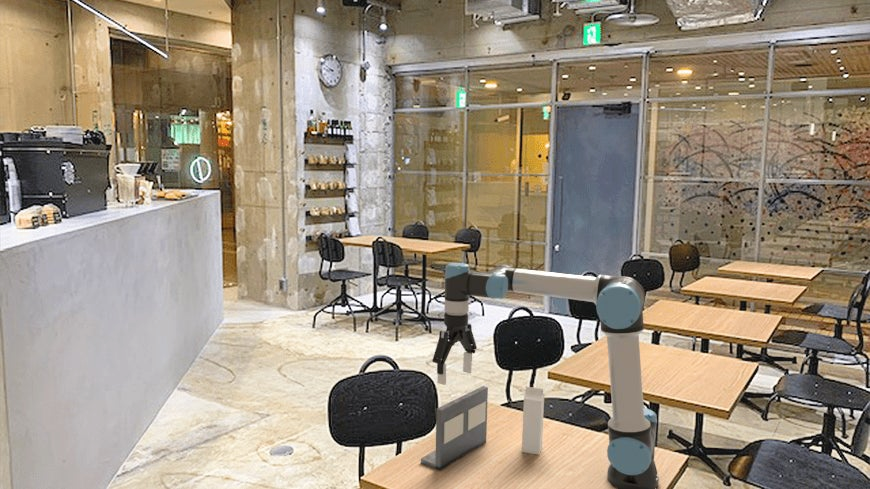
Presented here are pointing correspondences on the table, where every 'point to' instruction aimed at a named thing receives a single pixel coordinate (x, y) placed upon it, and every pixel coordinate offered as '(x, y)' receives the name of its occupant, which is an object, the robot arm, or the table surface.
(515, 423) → the table surface
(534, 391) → the milk
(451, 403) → the label panel
